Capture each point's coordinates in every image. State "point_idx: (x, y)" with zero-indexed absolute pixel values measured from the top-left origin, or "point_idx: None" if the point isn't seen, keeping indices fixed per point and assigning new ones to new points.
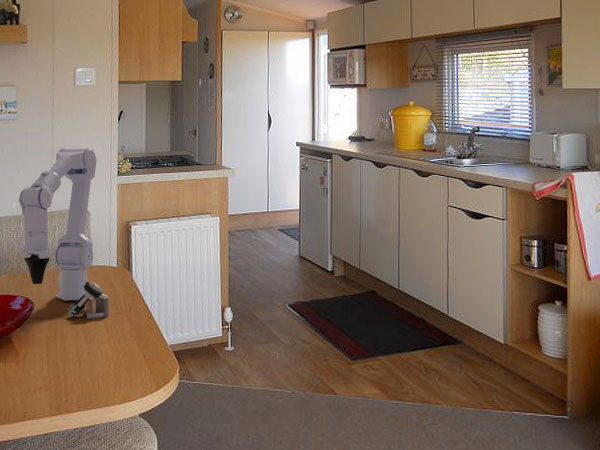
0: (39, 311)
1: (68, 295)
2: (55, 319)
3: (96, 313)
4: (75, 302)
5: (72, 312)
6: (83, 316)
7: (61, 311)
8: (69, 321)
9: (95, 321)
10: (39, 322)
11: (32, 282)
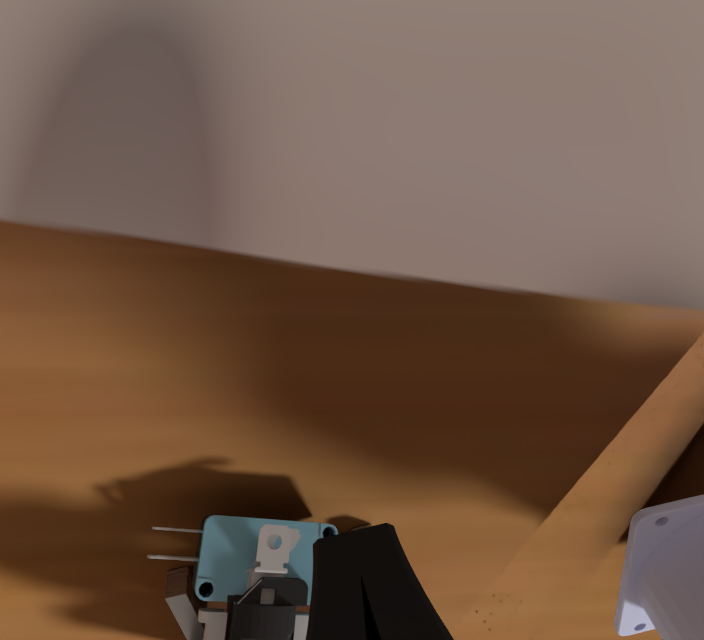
0: (659, 312)
1: (681, 553)
2: (225, 410)
3: (184, 632)
4: (236, 619)
5: (201, 540)
6: None
7: (552, 440)
8: (97, 488)
9: (48, 605)
10: (119, 307)
11: (388, 535)
